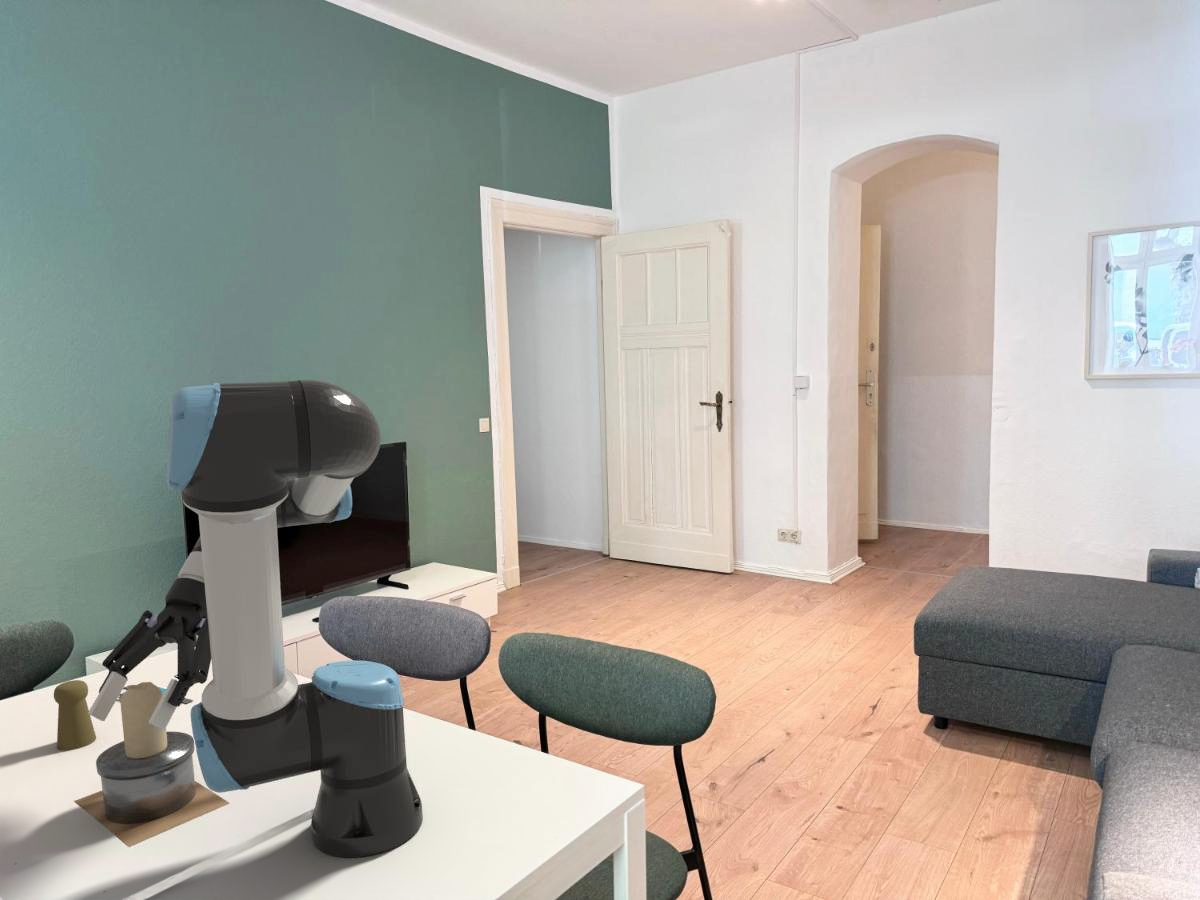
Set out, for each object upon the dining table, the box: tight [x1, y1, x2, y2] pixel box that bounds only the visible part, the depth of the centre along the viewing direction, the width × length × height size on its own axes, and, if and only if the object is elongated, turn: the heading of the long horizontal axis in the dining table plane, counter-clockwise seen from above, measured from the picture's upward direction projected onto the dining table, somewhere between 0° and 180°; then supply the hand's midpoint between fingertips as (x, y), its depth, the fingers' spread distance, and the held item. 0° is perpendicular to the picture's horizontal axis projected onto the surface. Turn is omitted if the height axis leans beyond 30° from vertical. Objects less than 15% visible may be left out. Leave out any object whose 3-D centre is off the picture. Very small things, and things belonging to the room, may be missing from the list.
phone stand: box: [118, 684, 194, 704], centre depth 174 cm, size 20×12×2 cm, turn 62°
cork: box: [53, 679, 97, 751], centre depth 152 cm, size 6×6×11 cm
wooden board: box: [73, 780, 230, 848], centre depth 128 cm, size 20×14×2 cm
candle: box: [119, 681, 167, 759], centre depth 127 cm, size 6×6×10 cm
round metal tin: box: [95, 731, 196, 824], centre depth 128 cm, size 13×13×8 cm
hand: (125, 722), depth 124 cm, fingers open, 11 cm apart
